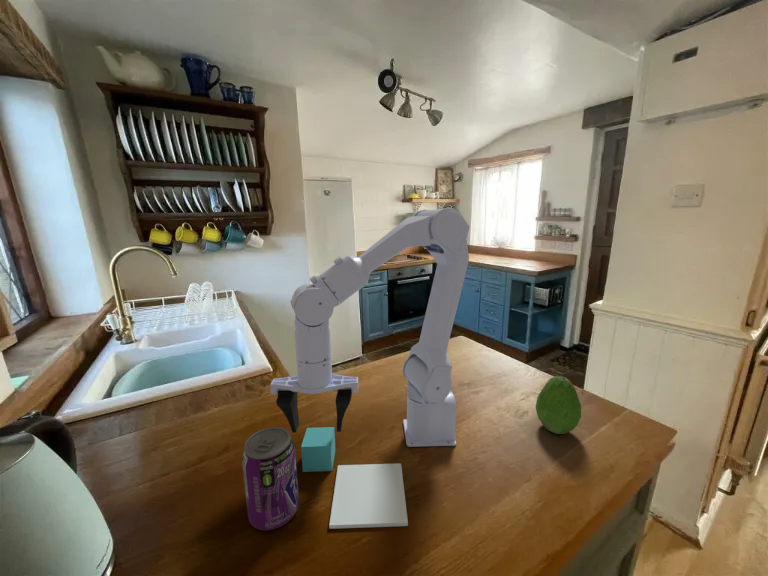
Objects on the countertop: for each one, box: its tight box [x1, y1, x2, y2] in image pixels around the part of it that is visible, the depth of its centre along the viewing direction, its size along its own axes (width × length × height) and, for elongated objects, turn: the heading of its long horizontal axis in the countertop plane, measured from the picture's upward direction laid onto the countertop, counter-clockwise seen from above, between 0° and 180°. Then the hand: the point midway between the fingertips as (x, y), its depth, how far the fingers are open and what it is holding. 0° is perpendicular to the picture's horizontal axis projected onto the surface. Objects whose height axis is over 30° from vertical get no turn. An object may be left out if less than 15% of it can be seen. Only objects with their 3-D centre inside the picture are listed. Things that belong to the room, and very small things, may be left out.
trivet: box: [328, 463, 409, 530], centre depth 49 cm, size 11×11×1 cm
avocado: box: [535, 375, 582, 435], centre depth 63 cm, size 8×8×12 cm
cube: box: [300, 426, 336, 473], centre depth 56 cm, size 5×5×5 cm
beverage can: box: [241, 426, 300, 531], centre depth 45 cm, size 7×7×12 cm
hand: (317, 428), depth 55 cm, fingers open, 7 cm apart
